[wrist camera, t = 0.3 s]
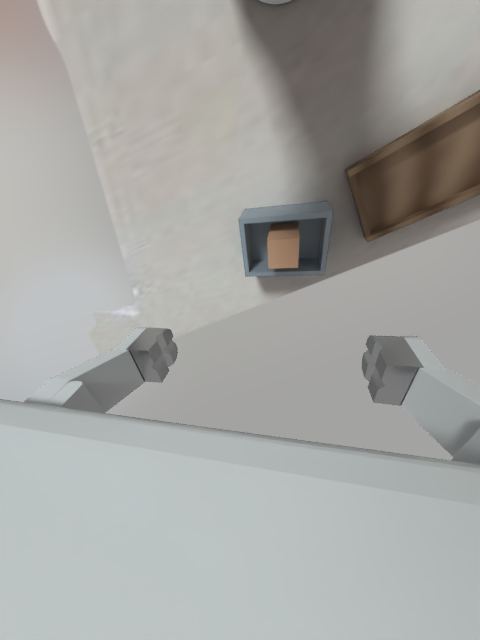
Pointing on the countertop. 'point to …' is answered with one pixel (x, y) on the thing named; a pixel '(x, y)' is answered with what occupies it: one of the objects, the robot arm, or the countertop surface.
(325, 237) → the blue-grey storage bin
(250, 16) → the countertop surface
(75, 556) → the robot arm
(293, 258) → the block
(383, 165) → the tray
